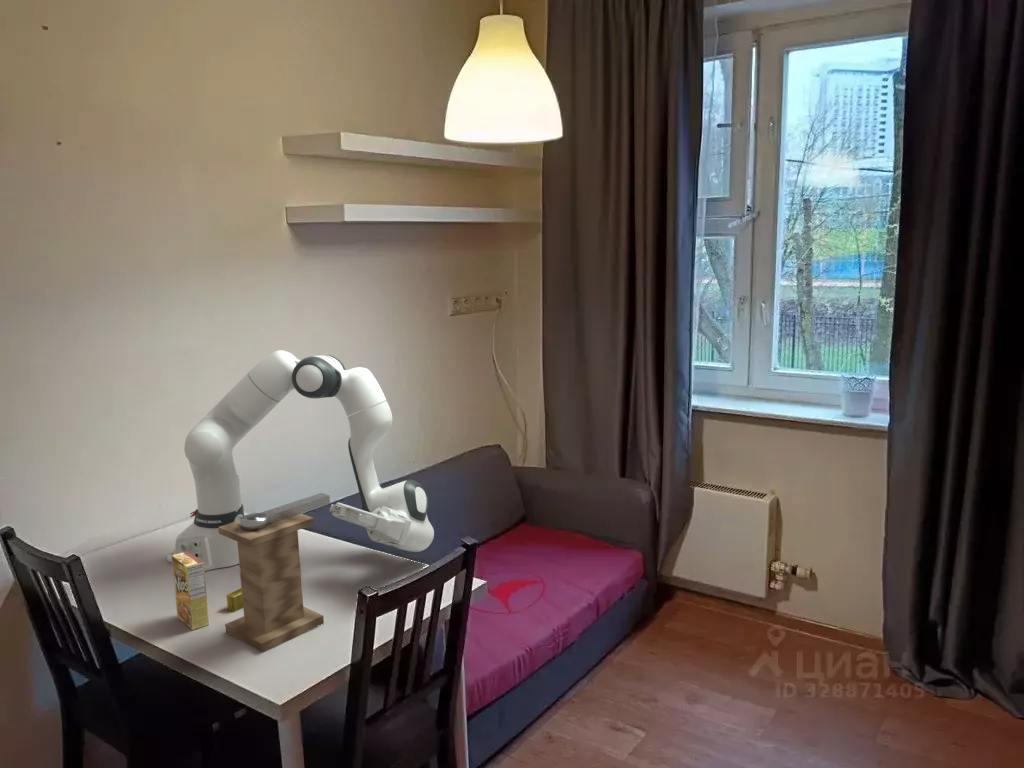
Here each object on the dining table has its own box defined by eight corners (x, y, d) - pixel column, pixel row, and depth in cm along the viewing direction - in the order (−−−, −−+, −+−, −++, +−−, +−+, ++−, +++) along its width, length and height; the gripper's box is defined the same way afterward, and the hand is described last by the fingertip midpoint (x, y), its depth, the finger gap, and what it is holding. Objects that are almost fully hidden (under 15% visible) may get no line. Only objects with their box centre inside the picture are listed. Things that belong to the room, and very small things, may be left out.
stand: (286, 606, 197) (278, 505, 192) (323, 623, 189) (316, 518, 184) (226, 632, 185) (215, 526, 180) (262, 652, 177) (252, 541, 172)
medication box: (266, 590, 206) (265, 575, 206) (274, 593, 205) (273, 577, 204) (226, 610, 197) (225, 594, 196) (234, 612, 195) (233, 596, 194)
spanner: (318, 499, 196) (317, 491, 195) (333, 504, 192) (332, 496, 192) (235, 527, 179) (234, 518, 179) (250, 533, 176) (249, 523, 175)
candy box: (176, 617, 193) (169, 555, 190) (194, 611, 196) (188, 550, 193) (192, 631, 186) (185, 566, 183) (210, 624, 189) (204, 561, 186)
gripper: (361, 504, 216) (322, 490, 206) (416, 522, 203) (377, 508, 193) (352, 527, 215) (313, 515, 205) (407, 547, 202) (367, 535, 192)
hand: (344, 512), depth 199 cm, fingers open, 8 cm apart
